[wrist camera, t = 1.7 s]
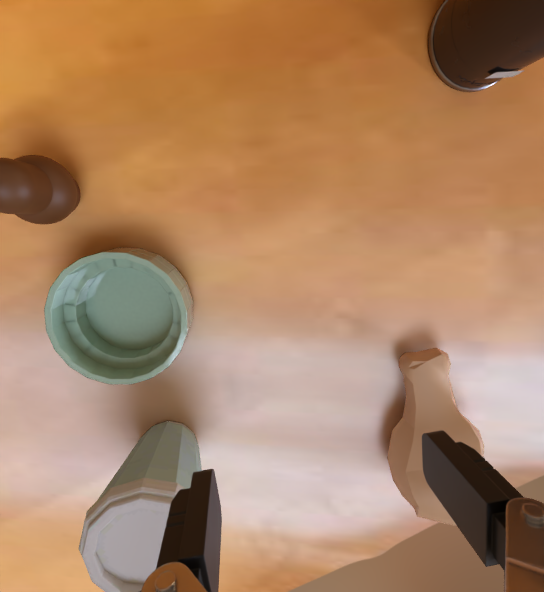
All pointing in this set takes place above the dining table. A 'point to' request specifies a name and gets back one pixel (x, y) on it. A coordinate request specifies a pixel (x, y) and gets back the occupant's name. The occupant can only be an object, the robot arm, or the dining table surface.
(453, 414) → the squash
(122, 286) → the bowl
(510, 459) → the dining table surface
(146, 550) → the disposable coffee cup
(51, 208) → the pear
